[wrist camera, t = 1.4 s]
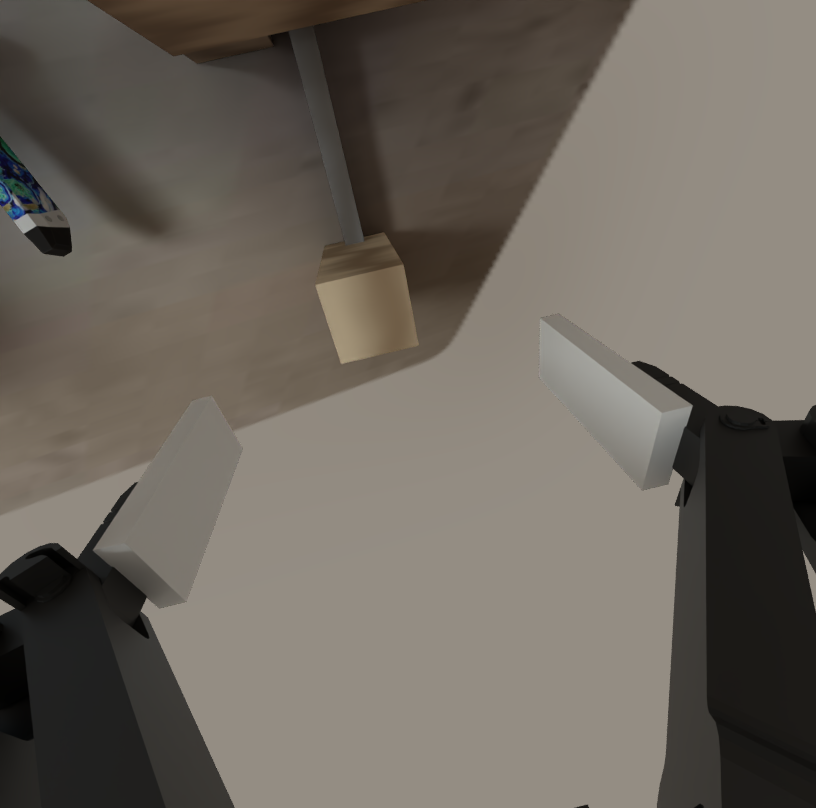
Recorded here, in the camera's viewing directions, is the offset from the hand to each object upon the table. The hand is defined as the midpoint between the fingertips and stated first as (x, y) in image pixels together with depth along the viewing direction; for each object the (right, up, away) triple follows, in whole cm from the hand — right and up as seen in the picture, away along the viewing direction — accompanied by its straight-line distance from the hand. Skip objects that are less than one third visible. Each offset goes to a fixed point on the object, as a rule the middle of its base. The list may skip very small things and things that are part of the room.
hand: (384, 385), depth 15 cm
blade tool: (-5, +17, +12) cm, 22 cm away
